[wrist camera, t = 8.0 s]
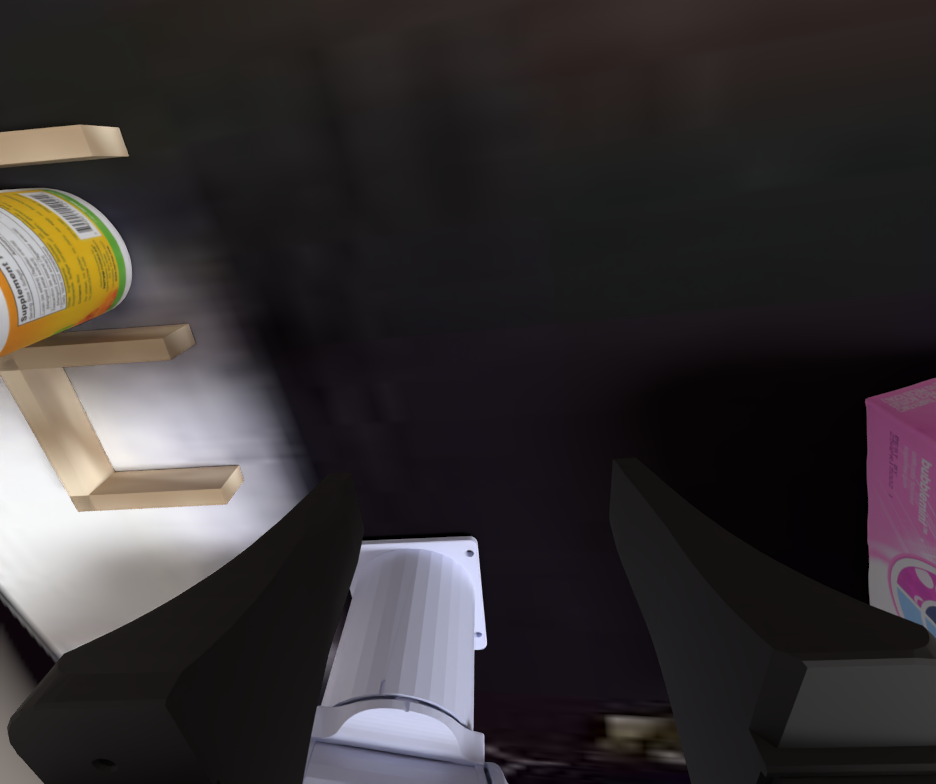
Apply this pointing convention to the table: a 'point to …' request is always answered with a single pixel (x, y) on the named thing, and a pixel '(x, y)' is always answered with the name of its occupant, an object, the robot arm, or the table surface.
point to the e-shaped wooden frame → (48, 388)
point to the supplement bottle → (55, 265)
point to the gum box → (903, 502)
